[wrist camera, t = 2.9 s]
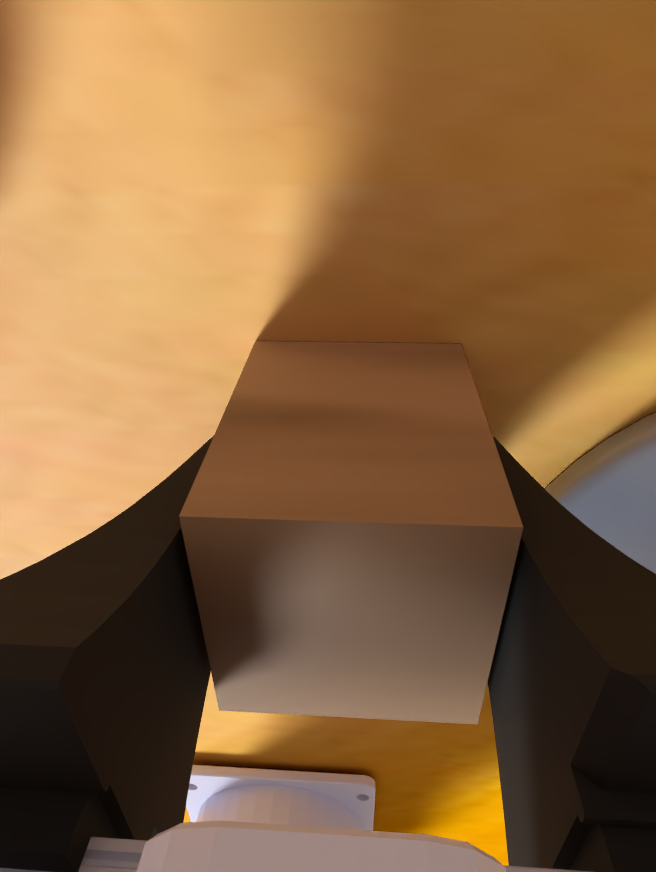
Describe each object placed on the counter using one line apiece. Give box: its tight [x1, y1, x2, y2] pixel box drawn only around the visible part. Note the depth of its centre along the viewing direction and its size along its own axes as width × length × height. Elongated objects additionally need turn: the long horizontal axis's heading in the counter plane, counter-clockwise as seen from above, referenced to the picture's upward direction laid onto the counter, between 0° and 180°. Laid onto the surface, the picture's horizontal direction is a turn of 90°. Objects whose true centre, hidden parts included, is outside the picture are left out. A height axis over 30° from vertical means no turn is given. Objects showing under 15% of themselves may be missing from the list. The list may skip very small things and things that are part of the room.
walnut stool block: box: [179, 341, 523, 725], centre depth 11 cm, size 5×5×6 cm
